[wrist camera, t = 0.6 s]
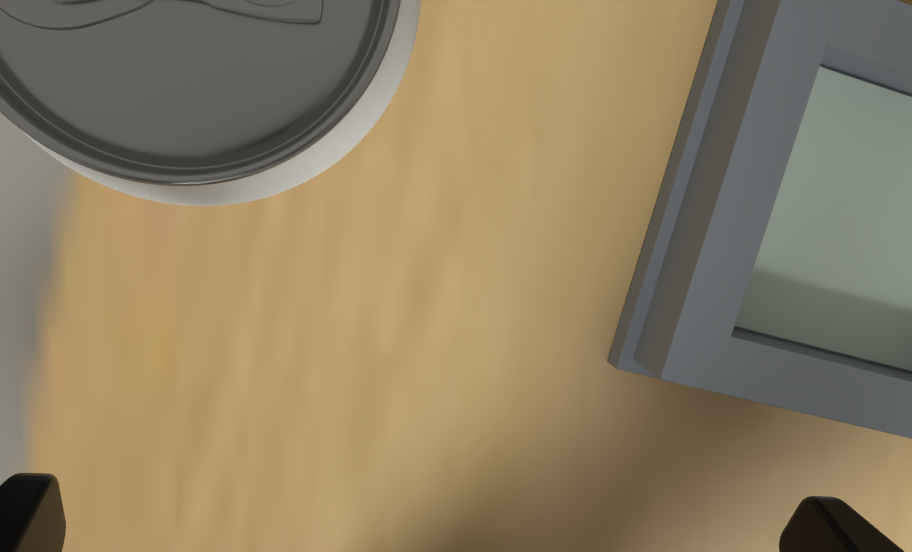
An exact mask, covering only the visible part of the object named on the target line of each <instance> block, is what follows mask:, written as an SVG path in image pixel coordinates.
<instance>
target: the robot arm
mask: <svg viewBox="0 0 912 552" xmlns="http://www.w3.org/2000/svg"><path fill="white" fill-rule="evenodd" d="M65 531H66V521H65V515H64V510H63V504H62V499H61V494H60V488H59V483H58V480H57V478H56V477H55V476H54V475H52V474H44V473H18V474H15V475H13V476H11V477H10V478H8V479H7V480H6V481H5V482H4V483H3V484H2V485H1V486H0V552H62V548H63V544H64V539H65ZM779 551H780V552H904V551H903V550H902V549H901V548H899V547H898V546H897V545H896V544H895V543H893V542H892V541H891V540H890V539H889V538H887V537H886V536H885V535H884V534H882V533H881V532H880V531H879V530H878V529H876V528H875V527H874V526H873V525H872V524H870V523H869V522H868V521H867V520H866V519H864V518H863V517H862V516H861V515H859V514H858V513H857V512H856V511H855V510H853V509H852V508H851V507H850V506H849V505H847V504H846V503H845V502H843V501H842V500H840V499H838V498H835V497H821V496H810V497H807V498H805V499H803V500H802V501H801V503H800V504H799V506H798V507H797V509H796V511H795V512H794V514H793V516H792V517H791V519H790V521H789V522H788V524H787V525H786V527H785V529H784V530H783V532H782V534H781V537H780V541H779Z"/></svg>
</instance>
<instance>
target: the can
mask: <svg viewBox="0 0 912 552" xmlns="http://www.w3.org/2000/svg"><path fill="white" fill-rule="evenodd" d="M420 1H421V0H0V112H1V113H2V114H3V115H5V116H6V117H7V118H8V119H9V120H10V121H12V122H13V123H14V124H15V125H16V126H17V127H19V128H20V129H21V130H22V131H23V132H24V133H25V134H26V135H27V136H28V137H29V138H30V139H31V140H32V141H34V142H35V143H36V144H37V145H38V146H40V147H41V148H42V149H43V150H45V151H46V152H47V153H49V154H50V155H51V156H53V157H54V158H56V159H57V160H58V161H60V162H61V163H63V164H64V165H66V166H68V167H69V168H71V169H73V170H74V171H76V172H78V173H80V174H81V175H83V176H85V177H87V178H89V179H91V180H93V181H95V182H97V183H100V184H102V185H104V186H107V187H109V188H112V189H114V190H117V191H120V192H123V193H126V194H129V195H132V196H136V197H139V198H143V199H148V200H152V201H157V202H163V203H170V204H179V205H191V206H218V205H230V204H237V203H244V202H249V201H254V200H258V199H262V198H265V197H269V196H272V195H275V194H278V193H281V192H284V191H286V190H289V189H291V188H293V187H296V186H298V185H300V184H302V183H304V182H306V181H308V180H310V179H312V178H313V177H315V176H317V175H318V174H320V173H322V172H323V171H325V170H326V169H328V168H329V167H331V166H332V165H333V164H335V163H336V162H337V161H339V160H340V159H341V158H342V157H344V156H345V155H346V154H347V153H348V152H349V151H350V150H352V149H353V148H354V147H355V146H356V145H357V144H358V143H359V142H360V141H361V140H362V139H363V138H364V136H365V135H366V134H367V133H368V132H369V131H370V130H371V128H372V127H373V126H374V125H375V123H376V122H377V121H378V119H379V118H380V117H381V115H382V114H383V112H384V111H385V109H386V108H387V106H388V104H389V103H390V101H391V99H392V98H393V96H394V94H395V92H396V90H397V88H398V86H399V84H400V82H401V80H402V78H403V75H404V73H405V70H406V68H407V65H408V62H409V59H410V56H411V53H412V49H413V45H414V41H415V37H416V32H417V27H418V21H419V13H420Z"/></svg>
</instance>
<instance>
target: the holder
mask: <svg viewBox="0 0 912 552" xmlns="http://www.w3.org/2000/svg"><path fill="white" fill-rule="evenodd" d="M608 362H609V363H610V364H612V365H613V366H614V367H615V368H616V369H620V370H624V371H629V372H633V373H637V374H641V375H646V376H650V377H654V378H659V379H661V380H665V381H669V382H673V383H678V384H682V385H686V386H691V387H695V388H699V389H703V390H708V391H712V392H716V393H720V394H725V395H729V396H733V397H737V398H742V399H746V400H750V401H754V402H759V403H763V404H767V405H771V406H776V407H780V408H784V409H788V410H793V411H797V412H801V413H806V414H810V415H814V416H818V417H823V418H827V419H831V420H835V421H840V422H844V423H848V424H852V425H857V426H861V427H865V428H869V429H874V430H878V431H882V432H886V433H891V434H895V435H899V436H903V437H908V438H912V5H910V4H907V3H904V2H902V1H899V0H718V3H717V6H716V10H715V13H714V16H713V19H712V23H711V26H710V29H709V32H708V36H707V39H706V42H705V45H704V49H703V52H702V55H701V58H700V62H699V65H698V68H697V71H696V75H695V78H694V81H693V84H692V88H691V91H690V94H689V97H688V101H687V104H686V107H685V110H684V114H683V117H682V120H681V123H680V127H679V130H678V133H677V136H676V140H675V143H674V146H673V149H672V153H671V156H670V159H669V162H668V166H667V169H666V172H665V175H664V179H663V182H662V185H661V188H660V192H659V195H658V198H657V201H656V205H655V208H654V211H653V214H652V218H651V221H650V224H649V227H648V231H647V234H646V237H645V240H644V244H643V247H642V250H641V253H640V257H639V260H638V263H637V266H636V270H635V273H634V276H633V279H632V283H631V286H630V289H629V292H628V296H627V299H626V302H625V305H624V309H623V312H622V315H621V318H620V322H619V325H618V328H617V331H616V335H615V338H614V341H613V344H612V348H611V351H610V354H609V357H608Z"/></svg>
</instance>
